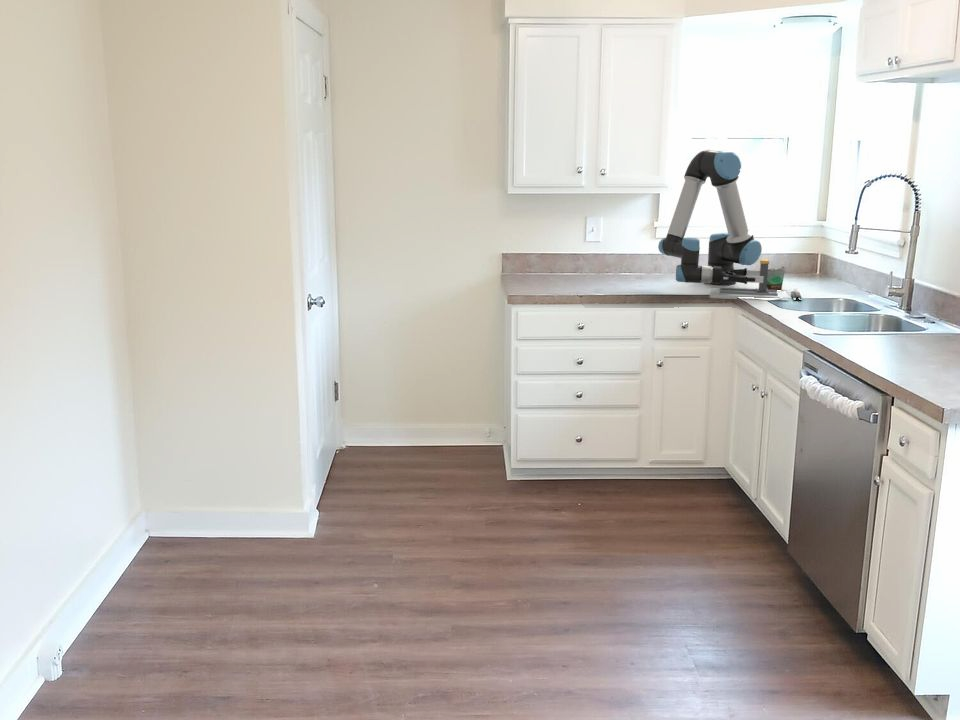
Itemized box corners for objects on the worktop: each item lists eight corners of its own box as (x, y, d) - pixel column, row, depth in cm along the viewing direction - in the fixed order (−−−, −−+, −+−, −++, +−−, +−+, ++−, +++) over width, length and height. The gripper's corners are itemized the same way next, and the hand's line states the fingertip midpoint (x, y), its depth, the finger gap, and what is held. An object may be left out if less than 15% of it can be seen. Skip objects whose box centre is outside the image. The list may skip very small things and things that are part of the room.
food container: (768, 293, 389) (770, 270, 386) (759, 290, 394) (760, 268, 391) (790, 290, 393) (792, 268, 390) (781, 288, 398) (783, 266, 396)
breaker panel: (710, 291, 393) (710, 285, 392) (785, 294, 385) (785, 288, 384) (709, 297, 380) (710, 292, 379) (787, 301, 372) (788, 295, 371)
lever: (755, 291, 383) (758, 258, 380) (767, 291, 382) (770, 259, 378) (756, 293, 379) (758, 260, 375) (768, 293, 378) (771, 261, 374)
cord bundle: (790, 294, 385) (791, 288, 384) (799, 295, 384) (799, 288, 383) (792, 301, 372) (793, 294, 371) (801, 301, 371) (802, 294, 371)
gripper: (711, 277, 396) (761, 279, 391) (710, 288, 373) (763, 291, 368) (713, 261, 394) (762, 263, 389) (711, 271, 371) (764, 273, 366)
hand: (762, 276), depth 378 cm, fingers open, 13 cm apart
